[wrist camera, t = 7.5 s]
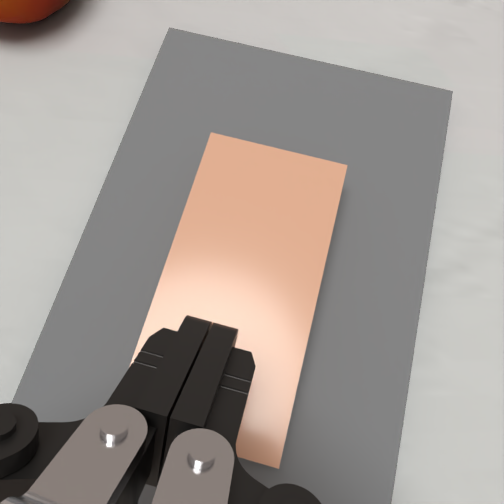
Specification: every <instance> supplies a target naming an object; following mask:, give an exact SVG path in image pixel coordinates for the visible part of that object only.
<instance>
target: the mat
mask: <svg viewBox="0 0 504 504" xmlns="http://www.w3.org/2000/svg"><path fill="white" fill-rule="evenodd" d="M452 93H453V91H449V90H445V89H441V88H436V87H432V86H427V85H423V84H418V83H414V82H409V81H405V80H401V79H396V78H392V77H387V76H383V75H378V74H374V73H369V72H365V71H360V70H356V69H352V68H347V67H343V66H338V65H334V64H329V63H325V62H320V61H316V60H312V59H307V58H303V57H298V56H294V55H289V54H285V53H280V52H276V51H272V50H267V49H263V48H258V47H254V46H249V45H245V44H240V43H236V42H231V41H227V40H223V39H218V38H214V37H209V36H205V35H200V34H196V33H191V32H187V31H183V30H178V29H174V28H169V29H168V32H167V34H166V37H165V39H164V41H163V44H162V46H161V48H160V51H159V53H158V56H157V58H156V60H155V63H154V65H153V67H152V70H151V72H150V75H149V77H148V79H147V82H146V84H145V87H144V89H143V91H142V94H141V96H140V98H139V101H138V103H137V106H136V108H135V110H134V113H133V115H132V117H131V120H130V122H129V125H128V127H127V129H126V132H125V134H124V137H123V139H122V141H121V144H120V146H119V148H118V151H117V153H116V156H115V158H114V160H113V163H112V165H111V167H110V170H109V172H108V175H107V177H106V179H105V182H104V184H103V187H102V189H101V191H100V194H99V196H98V198H97V201H96V203H95V206H94V208H93V210H92V213H91V215H90V217H89V220H88V222H87V225H86V227H85V229H84V232H83V234H82V237H81V239H80V241H79V244H78V246H77V248H76V251H75V253H74V256H73V258H72V260H71V263H70V265H69V267H68V270H67V272H66V275H65V277H64V279H63V282H62V284H61V287H60V289H59V291H58V294H57V296H56V298H55V301H54V303H53V306H52V308H51V310H50V313H49V315H48V317H47V320H46V322H45V325H44V327H43V329H42V332H41V334H40V337H39V339H38V341H37V344H36V346H35V348H34V351H33V353H32V356H31V358H30V360H29V363H28V365H27V367H26V370H25V372H24V375H23V377H22V379H21V382H20V384H19V386H18V389H17V391H16V394H15V396H14V398H13V401H12V403H15V404H21V405H24V406H26V407H28V408H30V409H31V410H32V411H34V413H35V414H36V415H37V418H38V422H72V421H78V420H81V419H84V418H86V417H87V416H88V415H89V414H90V413H92V412H93V411H95V410H96V409H98V408H101V407H103V406H104V405H105V404H106V403H107V401H108V400H109V398H110V397H111V395H112V393H113V392H114V390H115V389H116V387H117V386H118V384H119V383H120V381H121V379H122V378H123V376H124V375H125V373H126V372H127V370H128V369H129V366H130V364H131V361H132V358H133V355H134V352H135V349H136V346H137V343H138V341H139V338H140V335H141V332H142V329H143V326H144V323H145V320H146V318H147V315H148V312H149V309H150V306H151V303H152V300H153V297H154V295H155V292H156V289H157V286H158V283H159V280H160V277H161V274H162V272H163V269H164V266H165V263H166V260H167V257H168V254H169V251H170V249H171V246H172V243H173V240H174V237H175V234H176V231H177V228H178V226H179V223H180V220H181V217H182V214H183V211H184V208H185V206H186V203H187V200H188V197H189V194H190V191H191V188H192V185H193V183H194V180H195V177H196V174H197V171H198V168H199V165H200V162H201V160H202V157H203V154H204V151H205V148H206V145H207V142H208V139H209V137H210V134H211V132H212V133H216V134H220V135H224V136H228V137H233V138H237V139H241V140H245V141H249V142H253V143H257V144H262V145H266V146H270V147H274V148H278V149H282V150H287V151H291V152H295V153H299V154H303V155H307V156H311V157H316V158H320V159H324V160H328V161H332V162H336V163H340V164H345V165H348V166H347V170H346V174H345V179H344V183H343V188H342V192H341V196H340V201H339V205H338V210H337V214H336V219H335V223H334V227H333V232H332V236H331V241H330V245H329V249H328V254H327V258H326V263H325V267H324V271H323V276H322V280H321V285H320V289H319V294H318V298H317V302H316V307H315V311H314V316H313V320H312V324H311V329H310V333H309V338H308V342H307V346H306V351H305V355H304V360H303V364H302V368H301V373H300V377H299V382H298V386H297V391H296V395H295V399H294V404H293V408H292V413H291V417H290V421H289V426H288V430H287V435H286V439H285V443H284V448H283V452H282V457H281V461H280V466H279V469H278V468H274V467H271V466H267V465H264V464H261V463H257V462H254V461H250V460H247V459H244V458H240V457H238V459H239V462H240V464H241V465H242V467H243V468H244V469H245V471H246V472H247V473H248V474H249V475H250V476H252V477H253V478H254V479H255V480H257V481H258V482H260V483H261V484H263V485H264V486H266V487H267V488H269V489H270V488H271V487H273V486H275V485H278V484H284V483H288V484H295V485H298V486H301V487H303V488H305V489H307V490H308V491H310V492H311V493H312V494H313V495H314V496H315V497H316V498H317V499H318V500H319V501H320V503H321V504H391V500H392V494H393V487H394V480H395V474H396V467H397V460H398V454H399V447H400V440H401V434H402V427H403V420H404V414H405V407H406V400H407V393H408V387H409V380H410V373H411V367H412V360H413V353H414V347H415V340H416V333H417V327H418V320H419V313H420V307H421V300H422V293H423V287H424V280H425V273H426V267H427V260H428V253H429V247H430V240H431V233H432V227H433V220H434V213H435V206H436V200H437V193H438V186H439V180H440V173H441V166H442V160H443V153H444V146H445V140H446V133H447V126H448V120H449V113H450V106H451V100H452ZM156 488H157V487H154V486H151V485H147V484H145V486H144V488H143V491H142V493H141V495H140V498H139V502H138V504H152V501H153V498H154V495H155V492H156Z"/></svg>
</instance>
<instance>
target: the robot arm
mask: <svg viewBox="0 0 504 504" xmlns="http://www.w3.org/2000/svg"><path fill="white" fill-rule="evenodd" d="M237 335H238V329H236V328H232V327H229V326H225V325H221V324H218V323H213V324H212V322H211V321H207V320H204V319H200V318H196V317H193V316H189V315H187V316H186V317H185V318H184V320H183V322H182V324H181V325H180V327H179V329H178V331H174V330H171V329H167V328H162V329H160V330H159V331H157V332H156V333H154V334H153V335H151V336H149V338H148V339H147V341H146V342H145V344H144V345H143V347H142V349H141V351H140V352H139V353H138V355H137V356H136V358H135V359H134V362H133V363H132V364H131V366H130V367H129V369H128V370H127V372H126V373H125V375H124V376H123V378H122V379H121V381H120V383H119V384H118V386H117V387H116V389H115V390H114V392H113V393H112V395H111V397H110V398H109V400H108V401H107V403H106V404H105V405H104V406H103V407H101V408H98V409H96V410H95V411H93V412H92V413H90V414H89V415H88V416H87V417H86V418H84V419H81V420H78V421H72V422H38V418H37V415H36V414H35V413H34V411H32V410H31V409H30V408H28V407H26V406H24V405H21V404H15V403H6V404H0V504H138V502H139V498H140V495H141V493H142V491H143V488H144V486H145V484H147V485H151V486H154V487H157V488H156V492H155V495H154V498H153V501H152V504H321V503H320V501H319V500H318V499H317V498H316V497H315V496H314V495H313V494H312V493H311V492H310V491H308V490H307V489H305V488H303V487H301V486H298V485H295V484H288V483H284V484H278V485H275V486H273V487H271V488H270V489H269V488H267V487H266V486H264V485H263V484H261V483H260V482H258V481H257V480H255V479H254V478H253V477H252V476H250V475H249V474H248V473H247V472H246V471H245V469H244V468H243V467H242V465H241V464H240V462H239V459H238V457H237V453H236V441H237V437H238V433H239V429H240V425H241V421H242V417H243V413H244V410H245V406H246V402H247V398H248V394H249V390H250V386H251V383H252V379H253V375H254V371H255V367H256V366H255V362H254V359H253V355H252V352H250V351H246V350H243V349H239V348H235V344H236V339H237Z"/></svg>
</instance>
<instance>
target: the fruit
mask: <svg viewBox="0 0 504 504" xmlns="http://www.w3.org/2000/svg"><path fill="white" fill-rule="evenodd" d="M69 1H70V0H0V22H7V23H19V24H22V23H31V22H36V21H40V20H42V19H44V18H46V17H48V16H49V15H51V14H52V13H54V12H55V11H57V10H59V9H61V8H62V7H63V6H64V5H66V4H67V3H68V2H69Z"/></svg>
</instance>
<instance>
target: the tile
mask: <svg viewBox="0 0 504 504" xmlns="http://www.w3.org/2000/svg"><path fill="white" fill-rule="evenodd" d="M347 166H348V165H345V164H340V163H336V162H332V161H328V160H324V159H320V158H316V157H311V156H307V155H303V154H299V153H295V152H291V151H287V150H282V149H278V148H274V147H270V146H266V145H262V144H257V143H253V142H249V141H245V140H241V139H237V138H233V137H228V136H224V135H220V134H216V133H212V132H211V134H210V137H209V139H208V142H207V145H206V148H205V151H204V154H203V157H202V160H201V162H200V165H199V168H198V171H197V174H196V177H195V180H194V183H193V185H192V188H191V191H190V194H189V197H188V200H187V203H186V206H185V208H184V211H183V214H182V217H181V220H180V223H179V226H178V228H177V231H176V234H175V237H174V240H173V243H172V246H171V249H170V251H169V254H168V257H167V260H166V263H165V266H164V269H163V272H162V274H161V277H160V280H159V283H158V286H157V289H156V292H155V295H154V297H153V300H152V303H151V306H150V309H149V312H148V315H147V318H146V320H145V323H144V326H143V329H142V332H141V335H140V338H139V341H138V343H137V346H136V349H135V352H134V355H133V358H132V361H131V364H132V363H133V362H134V359H135V358H136V356H137V355H138V353H139V352H140V351H141V349H142V347H143V345H144V344H145V342H146V341H147V339H148V338H149V336H151V335H153V334H154V333H156V332H157V331H159V330H160V329H162V328H167V329H171V330H174V331H178V329H179V327H180V325H181V324H182V322H183V320H184V318H185V317H186V316H187V315H189V316H193V317H196V318H200V319H204V320H207V321H211V322H212V324H213V323H218V324H221V325H225V326H229V327H232V328H236V329H238V335H237V339H236V344H235V348H239V349H243V350H246V351H250V352H252V355H253V359H254V362H255V366H256V367H255V371H254V375H253V379H252V383H251V386H250V390H249V394H248V398H247V402H246V406H245V410H244V413H243V417H242V421H241V425H240V429H239V433H238V437H237V441H236V453H237V457H240V458H244V459H247V460H250V461H254V462H257V463H261V464H264V465H267V466H271V467H274V468H278V469H279V466H280V461H281V457H282V452H283V448H284V443H285V439H286V435H287V430H288V426H289V421H290V417H291V413H292V408H293V404H294V399H295V395H296V391H297V386H298V382H299V377H300V373H301V368H302V364H303V360H304V355H305V351H306V346H307V342H308V338H309V333H310V329H311V324H312V320H313V316H314V311H315V307H316V302H317V298H318V294H319V289H320V285H321V280H322V276H323V271H324V267H325V263H326V258H327V254H328V249H329V245H330V241H331V236H332V232H333V227H334V223H335V219H336V214H337V210H338V205H339V201H340V196H341V192H342V188H343V183H344V179H345V174H346V170H347ZM131 364H130V366H131ZM130 366H129V367H130Z"/></svg>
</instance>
